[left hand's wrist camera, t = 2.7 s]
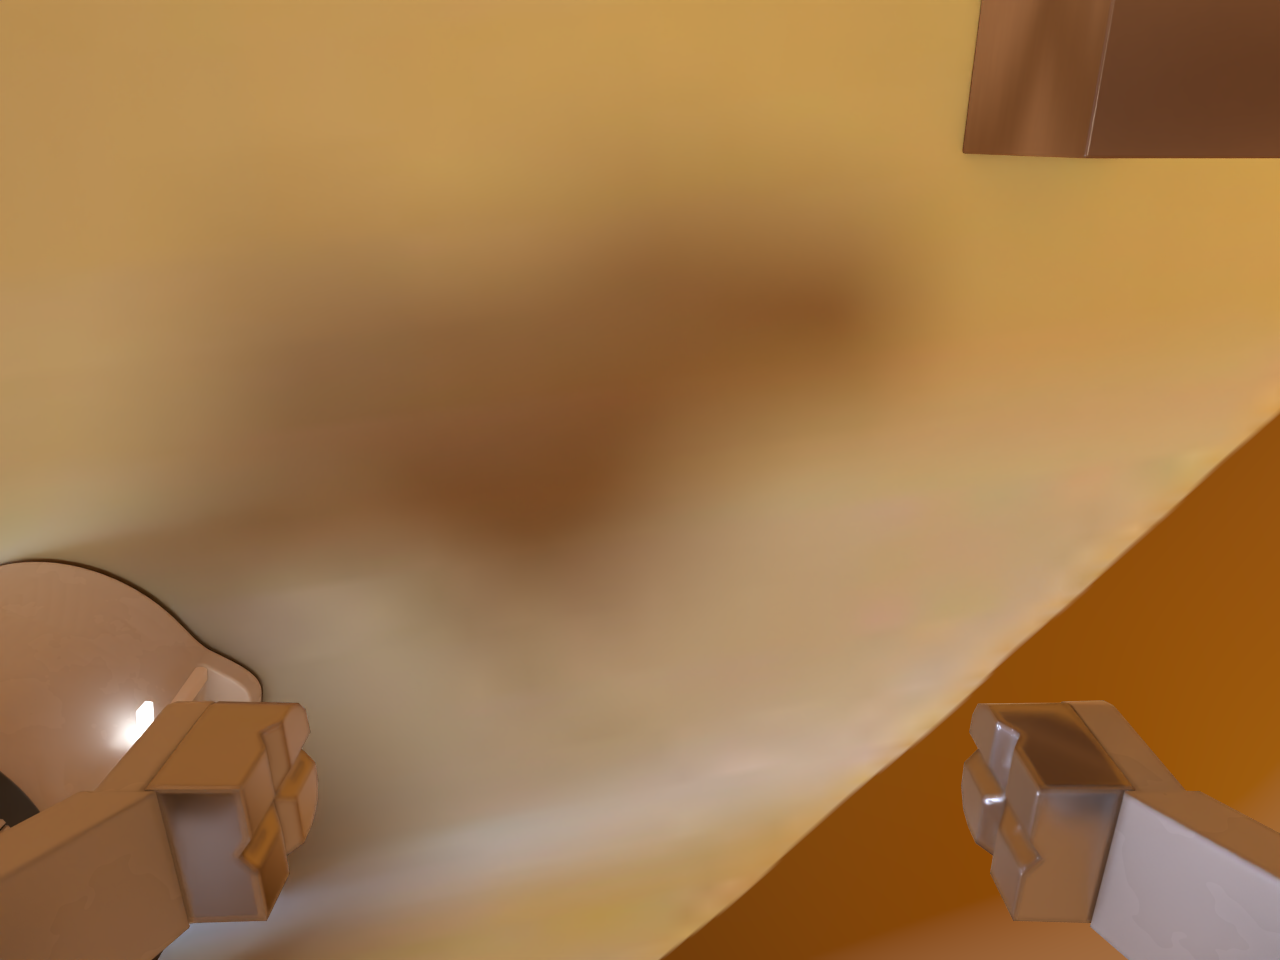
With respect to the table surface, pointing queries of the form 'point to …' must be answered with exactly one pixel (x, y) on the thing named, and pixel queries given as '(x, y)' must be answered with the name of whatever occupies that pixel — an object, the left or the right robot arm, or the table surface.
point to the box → (1126, 79)
